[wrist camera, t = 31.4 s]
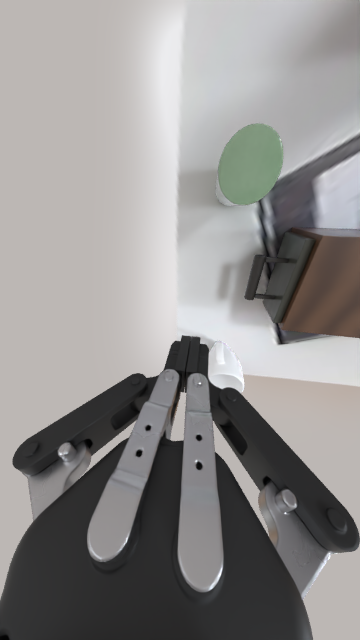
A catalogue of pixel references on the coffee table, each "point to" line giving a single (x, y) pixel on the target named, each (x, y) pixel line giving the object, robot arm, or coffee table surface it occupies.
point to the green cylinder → (249, 165)
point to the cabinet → (328, 285)
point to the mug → (225, 367)
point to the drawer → (281, 274)
